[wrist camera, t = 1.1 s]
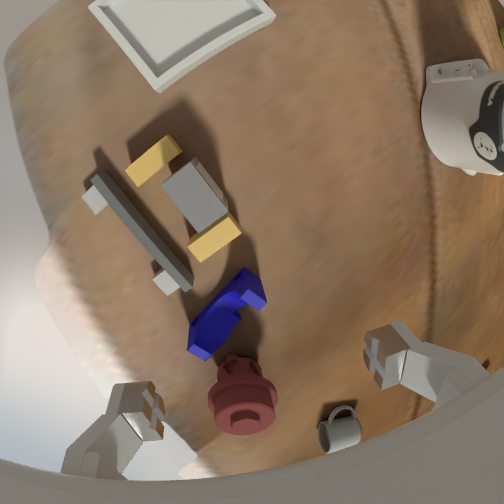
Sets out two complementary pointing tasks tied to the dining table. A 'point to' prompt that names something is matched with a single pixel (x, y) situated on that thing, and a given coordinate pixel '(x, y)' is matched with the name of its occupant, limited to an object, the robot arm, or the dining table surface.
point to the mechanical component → (242, 397)
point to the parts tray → (178, 31)
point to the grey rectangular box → (196, 195)
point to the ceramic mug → (339, 431)
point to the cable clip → (224, 314)
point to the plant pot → (502, 35)
